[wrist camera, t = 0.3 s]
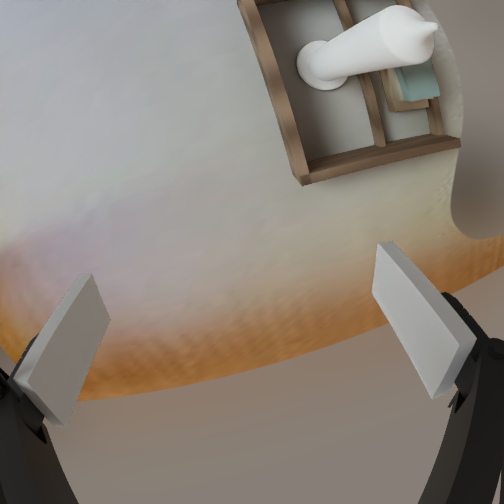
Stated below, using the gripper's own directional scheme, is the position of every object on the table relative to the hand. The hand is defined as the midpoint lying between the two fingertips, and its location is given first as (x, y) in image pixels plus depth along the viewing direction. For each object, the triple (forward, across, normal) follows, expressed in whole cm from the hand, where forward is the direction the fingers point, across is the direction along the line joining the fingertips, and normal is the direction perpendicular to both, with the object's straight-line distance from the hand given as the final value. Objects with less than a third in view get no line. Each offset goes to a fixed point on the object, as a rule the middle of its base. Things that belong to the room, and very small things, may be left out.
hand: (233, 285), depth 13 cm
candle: (+29, +13, +12) cm, 34 cm away
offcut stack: (+29, +24, +14) cm, 40 cm away
